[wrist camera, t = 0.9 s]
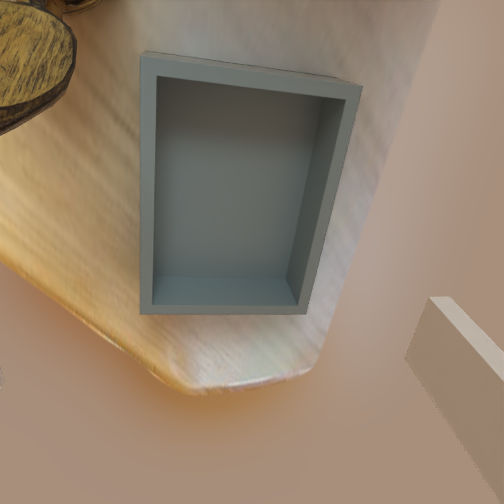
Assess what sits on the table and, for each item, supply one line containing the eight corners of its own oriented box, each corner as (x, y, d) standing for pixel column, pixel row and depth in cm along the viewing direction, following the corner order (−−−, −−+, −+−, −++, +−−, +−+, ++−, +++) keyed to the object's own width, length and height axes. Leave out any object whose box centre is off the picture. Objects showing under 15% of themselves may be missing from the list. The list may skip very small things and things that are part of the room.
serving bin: (145, 50, 29) (140, 55, 24) (335, 77, 32) (362, 86, 28) (143, 279, 39) (139, 314, 34) (290, 281, 42) (305, 314, 37)
